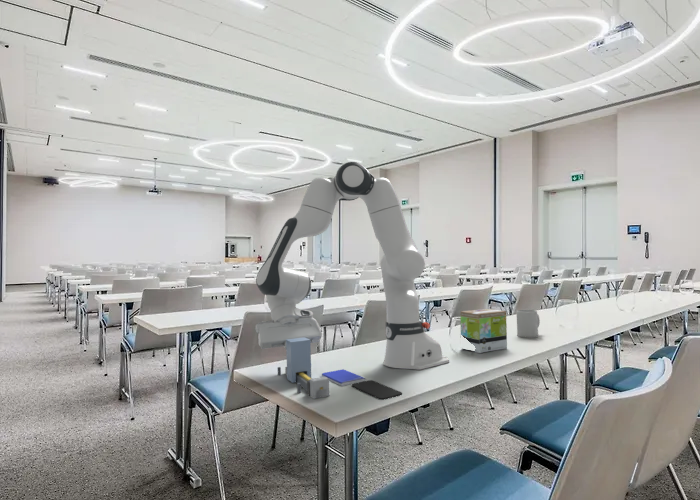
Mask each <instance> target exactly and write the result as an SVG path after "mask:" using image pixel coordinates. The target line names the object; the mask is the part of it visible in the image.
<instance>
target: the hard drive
mask: <svg viewBox="0 0 700 500" xmlns="http://www.w3.org/2000/svg"><path fill="white" fill-rule="evenodd" d="M321 377H327V378H328V379H329V382H332V383H335V384H337V385H339V386H341V387H343V386H348V385H352V384H354V383H359V382H363V381H367V379H366V377H364V376H361V375H359V374H356V373H355V372H351V371H348V370H346V369H344V368H343V369H338V370H333V371H327V372H323V373H321Z"/></svg>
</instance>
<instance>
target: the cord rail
mask: <svg viewBox="0 0 700 500" xmlns="http://www.w3.org/2000/svg"><path fill="white" fill-rule="evenodd" d="M281 369H282V368H281V366H278V367H277V376H278V375H279V376H281V375H282V372H281V371H282V370H281ZM284 371H285V374H286V375H287V366H285V369H284ZM295 383H296V389H297V390H296V392H297V394H299V393H302V388H303V389H304V390H305V391H306V392H307V393H306V394H307V395H308V396H309V397H311V398H312V399H319V398H325V397H330V380H329V379H328V378H327V377H322V376H321V377H320V376H319V377H313V378H312V376H311V377H310V376H308V375H307V374H305V373H304V372H303V371H302V372H296V382H295Z"/></svg>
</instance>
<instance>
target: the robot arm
mask: <svg viewBox="0 0 700 500" xmlns="http://www.w3.org/2000/svg"><path fill="white" fill-rule="evenodd" d="M359 198H360V199H362V200H363V202H364V204H365V206H366V208H367V212H368V216H369V219H370V222H371V226H372V228H373V232H374V235H375V236H374V237H375V238H376V239H377V242H379V245H380V247H381V249H382V251H383V256H382V257H381V260H380V264H379V265H380V270H381V275H382V277H381V278H382V284H383V289H384V296H385V306H386V308H385V309H386V310H385V311H386V321H385V338H386V345H385V353H384V358H383V362H382V364H383V365H384V366H385V367H389V368H393V369H405V370H406V369H407V370H409V369H411V370H424V369H428V368H432V367H436V366H439V365H443V364H447V363H450V359H449V358H448V357H447V356H445V355H443V352H442V346H441V344H440V343H439V341H437V340H436V339H434V338H433V337H432V336H430V335H429V334H428V333H426V331H425V329H430V327H431V324H430V323H429V322H425V321H423V322H422V321H420V306H419V305H420V301H419V300H420V299H419V295H418V293H417V291H416V286H415V280H416V279H417V278H419V277H420V276H421V275H422V274H423V272H424V270H425V266H426V263H425V262H426V261H425V259H424V257H423V255H422V254H421V252H419V251H420V250H418V247H417V245H416V243H415V240H414V239H413V237H412V235H411V232H410V231H409V228H408V226H407V223H406V220H405V216H404V213H403V210H402V207H401V203H400V201H399V197H398V195H397V193H396V190H395V188H394V185H393V184H392V183H391V181H390V180H389V179H388V178H385V177H375V176H374V175H373V174H372V173H371V172H370V171H369V170H368V169H367V168H366V167H365V166H364V165H363V164H361V163H359V162H357V161H347V162H344V163H343V164H342V165H340V167H339V168H338V169H337V171H336V174H335V176H333V178H327V177H322V176H321V177H315V178H314V179H312V180H311V182H310V183H309V185H308V187H307V189H306V192H305V193H304V196H303V198H302V200H301V201H302V202H301V205H300V207H299V209H298V212H297V213H296V214H295V215H294V216H293V217H291V218H287V220H286V221H285V223H284V224H283V225H282V227H281V229H280V232H279V233H278V236H277V238H276V239H275V241H274V244H273V246H272V248H271V250H270V251H269V254H268V256H267V258H266V260H265V261H264V263H263V264H262V265H261V267H260V268H259V270H258V272H257V274H256V278H255V283H256V286H257V288H258V289H259V291H260V292H261V294H263V295H265V296H266V297H265V298H266V300H267V301H266V302H267V304H268V308H269V310H270V318H271V320H266V321H259V322H258V323H256V324H255V327H254V328H255V332H256V334H258V335H257V336H258V346H259V347H260V348H261V349H272V348H281V347H283V348H284V349H285V350H286V339H295V338H304V337H305V338H307V339H309V340H310V344H315V343H319V342H320V340H321V339H322V337H323V332H322V329H321V327H320V325H319V322H318V321H317V320H316V318H314V312H313V311H311V310H307V309H302V308H298V307H297V305H299V304H300V303H301V302H302V301H303V300H304V299H305V298H306V297H308V296H309V294H310V293H311V290H312V281H311V277H310V275H309V274H308V273H307V272H306V271H305V272H304V271H303V270H298V269H293V268H288V267H286V266H283V263H284V261H285V259H286V257H287V255H288V254H289V251H290V248H291V246H292V245H293V243H294V242H295V241H297V240H299V239H302V238H310V237H317V236H319V235H321V234H323V233H325V232H326V231H327V230H328V228H329V226H330V225H331V221H332V219H333V215H334V212H335V208H336V205H337V203H338V201H345V202H346V201H348V202H349V201H355V200H357V199H359Z"/></svg>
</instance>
